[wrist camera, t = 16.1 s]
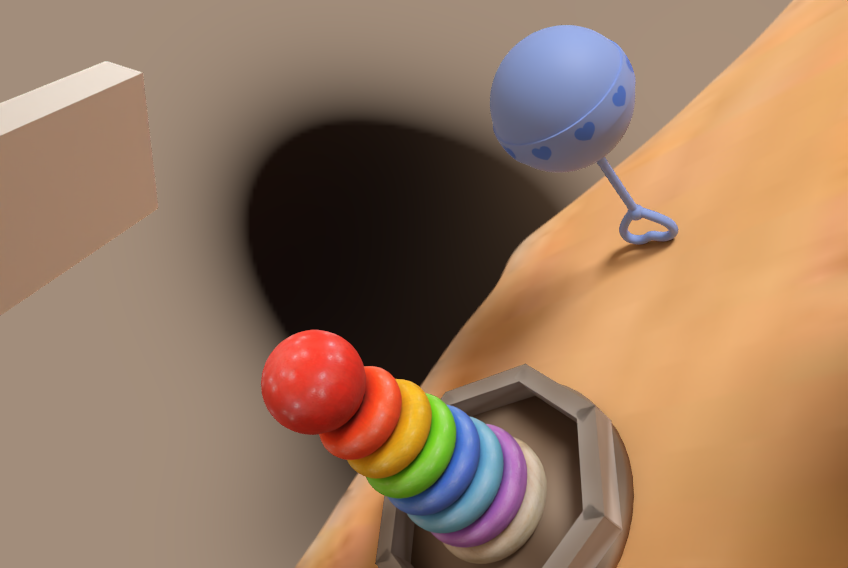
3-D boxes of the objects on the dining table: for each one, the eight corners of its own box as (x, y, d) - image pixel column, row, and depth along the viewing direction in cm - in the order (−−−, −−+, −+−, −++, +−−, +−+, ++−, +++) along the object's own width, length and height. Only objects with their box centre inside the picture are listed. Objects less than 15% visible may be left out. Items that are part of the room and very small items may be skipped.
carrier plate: (508, 353, 51) (485, 332, 50) (693, 463, 37) (669, 439, 36) (367, 539, 50) (339, 524, 48) (505, 729, 36) (471, 716, 34)
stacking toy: (426, 534, 45) (198, 400, 35) (487, 428, 47) (288, 272, 37) (509, 593, 39) (260, 450, 28) (575, 467, 41) (364, 292, 30)
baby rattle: (732, 180, 47) (608, -33, 37) (715, 283, 43) (570, 75, 33) (618, 204, 53) (485, 26, 43) (594, 296, 49) (441, 123, 39)
